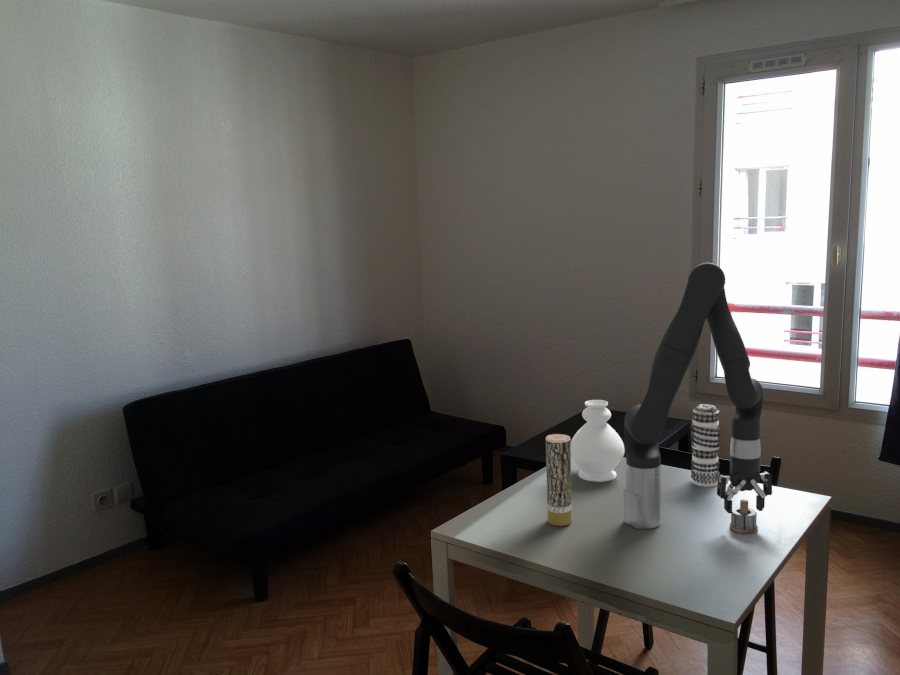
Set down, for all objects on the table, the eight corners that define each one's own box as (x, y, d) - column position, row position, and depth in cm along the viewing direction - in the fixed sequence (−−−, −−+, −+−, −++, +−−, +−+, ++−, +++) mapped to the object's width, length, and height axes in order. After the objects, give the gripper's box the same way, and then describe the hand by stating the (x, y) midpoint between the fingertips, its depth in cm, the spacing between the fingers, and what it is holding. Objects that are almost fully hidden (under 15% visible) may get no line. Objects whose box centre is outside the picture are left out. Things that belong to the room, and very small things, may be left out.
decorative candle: (683, 479, 236) (684, 404, 232) (708, 475, 239) (708, 401, 235) (701, 488, 228) (702, 411, 224) (726, 484, 230) (727, 407, 226)
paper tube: (555, 515, 212) (553, 432, 208) (576, 520, 208) (574, 436, 204) (543, 523, 207) (540, 438, 203) (564, 529, 202) (562, 442, 199)
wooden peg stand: (744, 536, 193) (744, 507, 192) (724, 527, 199) (724, 499, 198) (763, 530, 196) (764, 502, 194) (743, 521, 202) (743, 494, 201)
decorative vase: (581, 463, 256) (580, 394, 252) (631, 470, 247) (631, 398, 243) (562, 479, 241) (560, 406, 237) (614, 487, 232) (613, 411, 228)
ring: (751, 532, 193) (751, 517, 192) (728, 526, 197) (728, 512, 196) (758, 524, 198) (759, 510, 197) (736, 519, 201) (736, 505, 201)
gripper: (763, 447, 198) (762, 504, 201) (713, 451, 197) (712, 507, 200) (778, 455, 191) (776, 514, 193) (725, 459, 190) (724, 518, 192)
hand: (744, 511), depth 197 cm, fingers open, 8 cm apart
